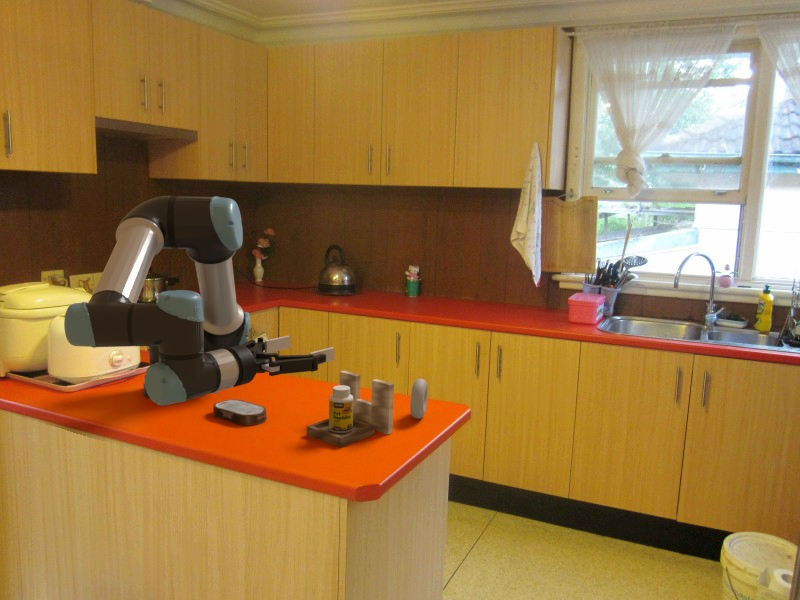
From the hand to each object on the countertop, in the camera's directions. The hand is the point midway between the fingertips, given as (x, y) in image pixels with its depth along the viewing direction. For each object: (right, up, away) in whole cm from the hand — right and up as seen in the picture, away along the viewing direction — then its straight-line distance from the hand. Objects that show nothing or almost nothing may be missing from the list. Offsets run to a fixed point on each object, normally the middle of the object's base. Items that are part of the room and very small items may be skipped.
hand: (310, 347), depth 140 cm
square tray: (+5, -21, +12) cm, 25 cm away
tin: (-23, -18, +18) cm, 34 cm away
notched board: (+11, -20, +18) cm, 29 cm away
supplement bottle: (+5, -20, +12) cm, 24 cm away
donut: (+24, -20, +25) cm, 40 cm away
